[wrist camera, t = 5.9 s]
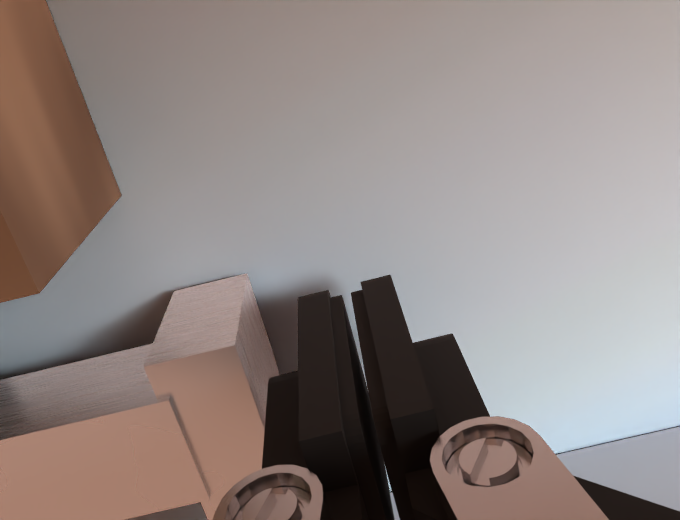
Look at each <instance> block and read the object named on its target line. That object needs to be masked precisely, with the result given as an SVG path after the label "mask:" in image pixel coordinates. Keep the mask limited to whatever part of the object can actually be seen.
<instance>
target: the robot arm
mask: <svg viewBox="0 0 680 520" xmlns="http://www.w3.org/2000/svg"><path fill="white" fill-rule="evenodd" d="M361 286H362V290H360V291H356V292H352V293H351V296H352V302H353V308H354V313H355V319H356V325H357V330H358V336H359V342H360V347H361V353H362V359H363V364H364V370H365V376H366V381H367V386H366V382H365V378H364V375H363V371H362V367H361V364H360V360H359V356H358V352H357V349H356V345H355V341H354V338H353V334H352V330H351V326H350V323H349V319H348V315H347V312H346V308H345V304H344V301H343V297H342V295H340V296H336V297H331V296H330V293H329V291H328V290H326V291H322V292H318V293H314V294H310V295H306V296H302V297H298V371H295V372H291V373H287V374H283V375H279V376H274V377H271V378H269V381H268V390H267V403H266V417H265V431H264V445H263V458H262V469H261V470H258V471H256V472H254V473H252V474H250V475H248V476H246V477H245V478H243V479H242V480H240V481H239V482H238V483H236V484H235V485H234V486H232V488H231V489H230V490H229V491H228V492H227V493H226V494H225V495H224V497H223V498H222V499H221V501H220V503H219V505H218V507H217V509H216V511H215V514H214V517H213V520H395V519H394V513H393V508H392V502H391V497H390V491H389V486H388V480H387V475H386V470H387V474H388V478H389V481H390V485H391V489H392V492H393V496H394V500H395V503H396V507H397V511H398V514H399V518H400V520H680V511H677V510H674V509H671V508H668V507H665V506H662V505H659V504H656V503H653V502H650V501H647V500H644V499H642V498H639V497H636V496H633V495H630V494H627V493H624V492H621V491H618V490H615V489H612V488H609V487H606V486H603V485H600V484H597V483H594V482H591V481H588V480H585V479H582V478H579V477H576V476H573V475H572V474H571V473H570V472H569V470H568V469H567V468H566V467H565V465H564V464H563V463H562V462H561V461H560V459H559V458H558V457H557V456H556V454H555V453H554V452H553V451H552V450H551V448H550V447H549V446H548V445H547V443H546V442H545V441H544V440H543V439H542V437H541V436H540V435H539V434H538V433H537V432H536V431H534V430H533V429H532V428H531V427H530V426H528V425H526V424H524V423H522V422H519V421H517V420H515V419H510V418H504V417H499V416H493V417H490V415H489V413H488V411H487V409H486V407H485V404H484V402H483V400H482V398H481V395H480V393H479V391H478V389H477V386H476V384H475V382H474V380H473V378H472V375H471V373H470V371H469V369H468V366H467V364H466V362H465V360H464V358H463V355H462V353H461V351H460V349H459V346H458V344H457V342H456V340H455V338H454V336H453V334H448V335H444V336H439V337H435V338H431V339H427V340H423V341H419V342H415V343H412V340H411V337H410V334H409V331H408V327H407V324H406V321H405V318H404V315H403V312H402V309H401V306H400V303H399V300H398V297H397V294H396V291H395V287H394V284H393V281H392V278H391V275H387V276H383V277H379V278H375V279H371V280H367V281H363V282H361ZM367 387H368V390H367ZM384 463H385V464H384ZM385 467H386V470H385Z"/></svg>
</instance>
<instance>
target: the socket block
mask: <svg viewBox="0 0 680 520" xmlns="http://www.w3.org/2000/svg"><path fill="white" fill-rule="evenodd" d="M120 197H121V193H120V190H119V188H118V185H117V183H116V180H115V177H114V175H113V172H112V170H111V167H110V165H109V162H108V159H107V157H106V154H105V152H104V149H103V147H102V144H101V141H100V139H99V136H98V134H97V131H96V128H95V126H94V123H93V121H92V118H91V116H90V113H89V110H88V108H87V105H86V103H85V100H84V98H83V95H82V92H81V90H80V87H79V85H78V82H77V80H76V77H75V74H74V72H73V69H72V67H71V64H70V62H69V59H68V56H67V54H66V51H65V49H64V46H63V44H62V41H61V38H60V36H59V33H58V31H57V28H56V26H55V23H54V20H53V18H52V15H51V13H50V10H49V8H48V5H47V2H46V0H0V303H1V302H5V301H9V300H13V299H18V298H22V297H26V296H30V295H34V294H38V293H40V292H41V291H42V289H43V288H44V287H45V286H46V285H47V283H48V282H49V281H50V280H51V279H52V278H53V276H54V275H55V274H56V273H57V272H58V270H59V269H60V268H61V267H62V266H63V264H64V263H65V262H66V261H67V260H68V258H69V257H70V256H71V255H72V254H73V253H74V251H75V250H76V249H77V248H78V247H79V245H80V244H81V243H82V242H83V241H84V239H85V238H86V237H87V236H88V235H89V233H90V232H91V231H92V230H93V229H94V228H95V226H96V225H97V224H98V223H99V222H100V220H101V219H102V218H103V217H104V216H105V214H106V213H107V212H108V211H109V210H110V208H111V207H112V206H113V205H114V204H115V203H116V201H117V200H118V199H119V198H120Z"/></svg>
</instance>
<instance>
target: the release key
mask: <svg viewBox="0 0 680 520" xmlns="http://www.w3.org/2000/svg"><path fill="white" fill-rule="evenodd" d="M279 375H280V373H279V370H278V367H277V363H276V360H275V357H274V354H273V351H272V348H271V345H270V342H269V339H268V336H267V333H266V329H265V326H264V323H263V320H262V317H261V314H260V311H259V308H258V305H257V302H256V299H255V295H254V292H253V289H252V286H251V283H250V280H249V277H248V274H247V273H246V274H242V275H238V276H234V277H230V278H226V279H221V280H217V281H213V282H209V283H205V284H201V285H197V286H193V287H189V288H184V289H180V290H176V291H174V292H173V295H172V297H171V300H170V302H169V305H168V307H167V310H166V312H165V315H164V317H163V320H162V322H161V325H160V327H159V330H158V332H157V335H156V337H155V339H154V342H153V343H152V344H148V345H144V346H140V347H136V348H132V349H127V350H123V351H119V352H115V353H111V354H107V355H102V356H98V357H94V358H90V359H86V360H82V361H77V362H73V363H69V364H65V365H61V366H57V367H52V368H48V369H44V370H40V371H36V372H32V373H27V374H23V375H19V376H15V377H11V378H7V379H2V380H0V520H125V519H130V518H134V517H138V516H143V515H147V514H151V513H156V512H160V511H164V510H169V509H173V508H177V507H182V506H186V505H190V504H195V503H199V502H201V505H202V507H203V509H204V512H205V514H206V517H207V519H208V520H213V517H214V514H215V511H216V509H217V507H218V505H219V503H220V501H221V499H222V498H223V497H224V495H225V494H226V493H227V492H228V491H229V490H230V489H231V488H232V486H234V485H235V484H236V483H238V482H239V481H240V480H242V479H243V478H245V477H246V476H248V475H250V474H252V473H254V472H256V471H258V470H261V469H262V458H263V445H264V431H265V417H266V403H267V390H268V381H269V378H271V377H274V376H279Z"/></svg>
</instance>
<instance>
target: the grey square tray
mask: <svg viewBox="0 0 680 520" xmlns="http://www.w3.org/2000/svg"><path fill="white" fill-rule="evenodd" d="M556 456H557V457H558V458H559V459H560V461H561V462H562V463H563V464H564V465H565V467H566V468H567V469H568V470H569V472H570V473H571V474H572V475H573V476H576V477H579V478H582V479H585V480H588V481H591V482H594V483H597V484H600V485H603V486H606V487H609V488H612V489H615V490H618V491H621V492H624V493H627V494H630V495H633V496H636V497H639V498H642V499H644V500H647V501H650V502H653V503H656V504H659V505H662V506H665V507H668V508H671V509H674V510H677V511H680V427H675V428H671V429H667V430H662V431H658V432H654V433H649V434H645V435H640V436H636V437H632V438H627V439H623V440H618V441H614V442H610V443H605V444H601V445H597V446H592V447H588V448H583V449H579V450H575V451H570V452H566V453H562V454H557V455H556ZM390 497H391V502H392V508H393V513H394V519H395V520H400V518H399V514H398V511H397V507H396V503H395V500H394V496H393V492H391V493H390Z"/></svg>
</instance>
